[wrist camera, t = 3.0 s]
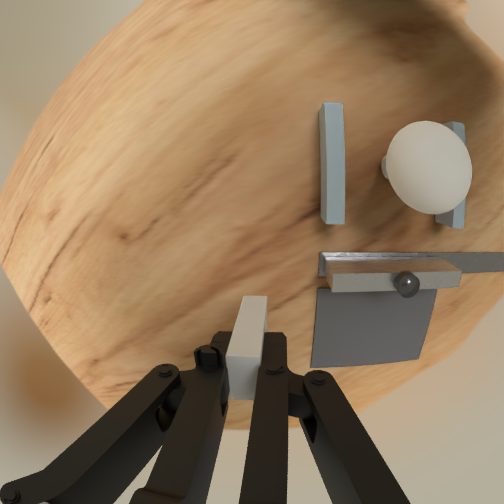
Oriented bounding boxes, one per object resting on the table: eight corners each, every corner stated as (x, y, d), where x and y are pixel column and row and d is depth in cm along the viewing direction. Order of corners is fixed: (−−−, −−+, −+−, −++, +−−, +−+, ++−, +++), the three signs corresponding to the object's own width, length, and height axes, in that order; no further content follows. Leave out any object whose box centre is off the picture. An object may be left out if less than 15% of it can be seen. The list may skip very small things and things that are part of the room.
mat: (317, 287, 27) (318, 289, 27) (436, 284, 26) (437, 285, 25) (310, 366, 30) (311, 367, 29) (417, 357, 28) (418, 358, 28)
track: (319, 252, 26) (319, 252, 26) (515, 252, 23) (516, 252, 23) (318, 275, 27) (318, 276, 26) (512, 269, 24) (512, 270, 23)
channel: (318, 111, 22) (324, 101, 19) (446, 127, 21) (464, 123, 18) (320, 217, 25) (326, 224, 22) (445, 221, 24) (463, 228, 20)
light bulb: (403, 214, 24) (468, 240, 14) (347, 181, 24) (393, 187, 13) (428, 156, 22) (499, 153, 12) (374, 121, 22) (429, 92, 11)
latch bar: (325, 254, 26) (336, 276, 20) (439, 254, 24) (468, 273, 19) (323, 274, 26) (334, 300, 21) (436, 272, 25) (464, 293, 19)
